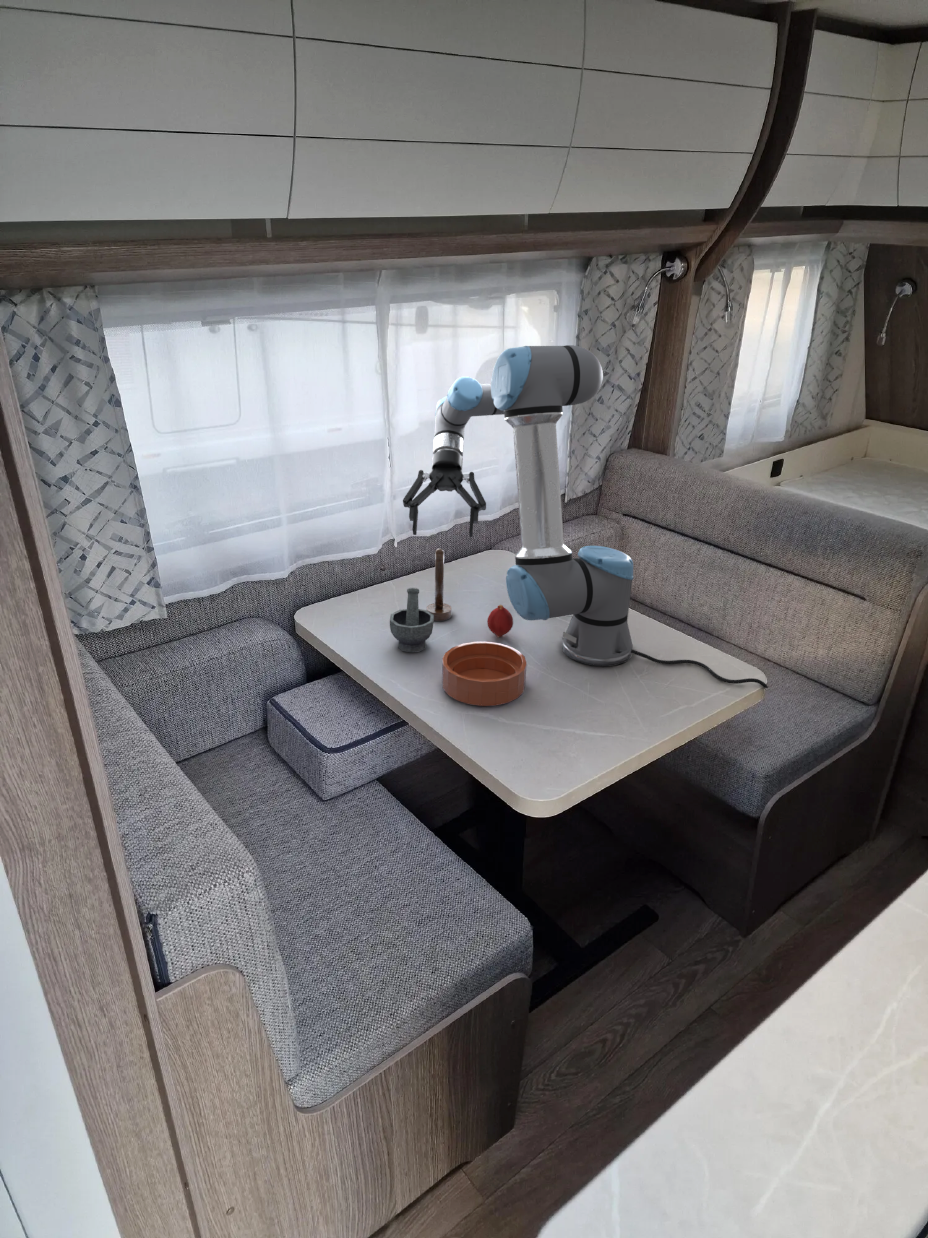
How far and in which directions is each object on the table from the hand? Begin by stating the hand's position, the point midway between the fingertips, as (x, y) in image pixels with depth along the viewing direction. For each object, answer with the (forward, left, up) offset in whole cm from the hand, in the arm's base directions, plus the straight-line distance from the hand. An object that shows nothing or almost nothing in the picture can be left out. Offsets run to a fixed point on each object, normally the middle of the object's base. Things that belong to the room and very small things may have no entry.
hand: (442, 533), depth 196 cm
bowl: (-19, +40, -17) cm, 47 cm away
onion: (-18, +17, -17) cm, 30 cm away
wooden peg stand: (-2, +10, -17) cm, 20 cm away
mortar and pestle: (0, +26, -17) cm, 31 cm away
